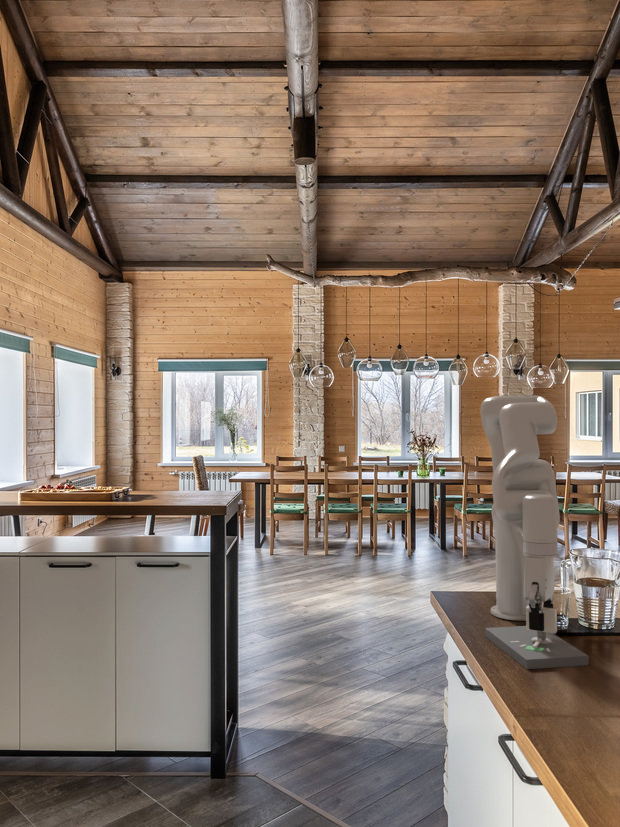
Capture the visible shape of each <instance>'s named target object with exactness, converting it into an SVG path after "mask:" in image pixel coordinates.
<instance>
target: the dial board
mask: <svg viewBox="0 0 620 827" xmlns="http://www.w3.org/2000/svg"><path fill="white" fill-rule="evenodd" d="M484 631H485V632H484V635H485V637H486V638H487V639H488V640H489V641H491V643H493V644H494V645H495V646H497V647H498V648H499V649H500V650H502V651H503V652H504V653H506V654H507V655H508V656H509V657H511V658H512V659H513V660H515V662H517V663H518V664H519V665H521V666H522V667H523V668H524V669H526V670H534V669H535V670H536V669H549V668H550V669H552V668H567V667H581V666H589V663H590V662H589V655H588V654H587V653H585V652H584V651H581V650H580V649H579V648H577V647H576V646H573V645H572V644H571V643H569V642H568V641H566V640H564V639H562V638H561V637H560V636H558V635H556V633H555V634H554V633H547V632H546V640H542V641H541V643H540V644H539V645H538V647H537V648H533V645H534V643H535V642H536V641H537V631H533V630H526V625H517V626H516V625H515V626H497V627H496V626H495V627H485V629H484Z"/></svg>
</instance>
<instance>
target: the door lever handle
mask: <svg viewBox="0 0 620 827" xmlns="http://www.w3.org/2000/svg"><path fill="white" fill-rule="evenodd" d="M557 612H558V611H557V608H554V607H553V608H545V607H543V612H542V613H544V631H537V641H536V642H535V643H534V645H533V648H537V647H538V645H539V644H540V643H541V641H542V640H546V632H547V633H553V634H555V635H556V634H557V632H558V616H557V615H558V613H557ZM525 626H526V630H530V629H529V605H528V606H527V607H526V620H525ZM533 631H536V630H533Z"/></svg>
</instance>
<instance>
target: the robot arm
mask: <svg viewBox="0 0 620 827" xmlns="http://www.w3.org/2000/svg"><path fill="white" fill-rule="evenodd" d="M480 420H481V421H480V422H481V425H482V429H483V432H484V433H485V437H486V438H487V440H488V444H489V447H490V452H491V454H490V455H491V463H492V474H493V475H492V479H491V492H492V500H493V503H492V506H491V519H492V524H493V530H494V540H495V542H494V543H495V594H496V595H495V598H496V602H495V603H496V604H495V605H493V606H492V607H490V613H491V615H492V616H494V617H496V618H498V619H504V620H507V621H508V620H510V621H517V622H518V621H519V622H520V621H521V622H522V621H525V622H526V607H527V606H528V605H529V629H530V630H536V631H544V613H542V612H543V607H545V608H553V609H554V603H553V602H554V601H553V600H554V599H553V598H554V597H553V595H554V593H555V587H556V586H555V561H554V559H555V558H556V557H558V552H559V550H558V549H559V548H558V546H559V544H558V528H559V526H560V522H561V520H560V519H561V517H560V507H559V506H560V505H559V500H558V493H557V486H556V485H557V484H556V478H555V472H554V469H553V467H552V465H551V463H550V462H549V461H547V460H545V459H540V455H541V453H540V452H541V451H540V446H539V442H538V435H551V434H553V433H554V432H555V431H556V430H557V427H558V415H557V411H556V409H555V407H554V405H553V404H552V403H551V402H550V401H549V400H548V399H546V398H545V397H543V396H541V395H495V396H490V397H487V398H485V399H484V400H483V401H482V402H481V405H480Z"/></svg>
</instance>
